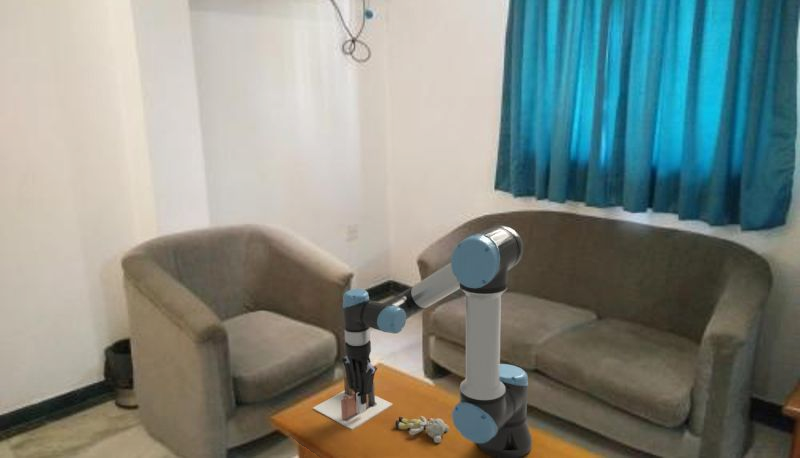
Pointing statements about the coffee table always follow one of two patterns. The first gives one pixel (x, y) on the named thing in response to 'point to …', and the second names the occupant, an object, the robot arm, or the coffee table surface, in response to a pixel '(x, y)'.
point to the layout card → (334, 412)
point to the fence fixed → (349, 391)
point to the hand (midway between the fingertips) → (361, 411)
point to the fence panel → (349, 406)
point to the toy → (424, 426)
